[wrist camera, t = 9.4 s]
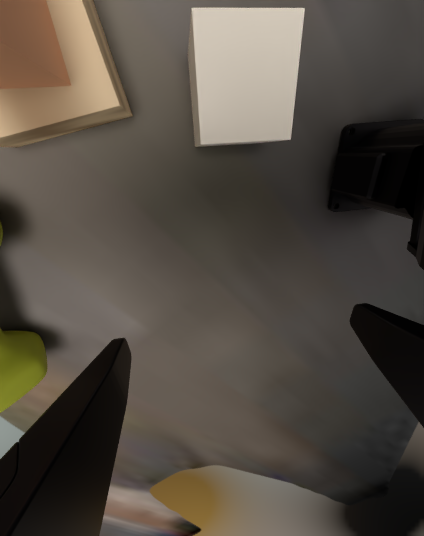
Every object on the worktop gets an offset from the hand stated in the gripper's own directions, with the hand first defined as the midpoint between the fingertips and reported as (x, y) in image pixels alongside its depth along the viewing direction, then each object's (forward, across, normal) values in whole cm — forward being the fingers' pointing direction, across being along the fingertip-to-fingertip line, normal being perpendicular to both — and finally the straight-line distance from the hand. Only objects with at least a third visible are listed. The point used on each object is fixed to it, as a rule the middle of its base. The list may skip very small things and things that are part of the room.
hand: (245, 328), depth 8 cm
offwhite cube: (+12, -2, -9) cm, 15 cm away
